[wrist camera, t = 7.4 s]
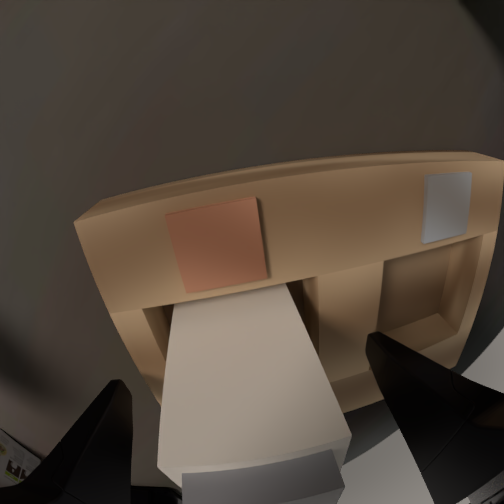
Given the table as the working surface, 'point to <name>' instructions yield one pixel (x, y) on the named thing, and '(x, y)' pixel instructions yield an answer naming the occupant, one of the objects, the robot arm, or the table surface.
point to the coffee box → (14, 461)
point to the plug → (249, 405)
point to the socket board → (308, 253)
